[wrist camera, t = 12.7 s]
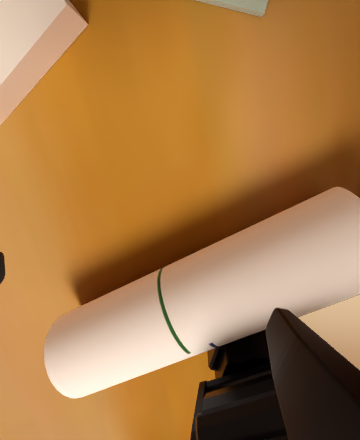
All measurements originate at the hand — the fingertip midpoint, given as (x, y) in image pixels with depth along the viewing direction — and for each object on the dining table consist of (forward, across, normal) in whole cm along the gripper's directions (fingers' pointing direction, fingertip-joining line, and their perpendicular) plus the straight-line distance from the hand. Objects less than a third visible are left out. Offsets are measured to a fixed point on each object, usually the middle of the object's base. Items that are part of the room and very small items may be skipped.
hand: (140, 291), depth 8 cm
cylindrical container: (+9, +5, +16) cm, 19 cm away
